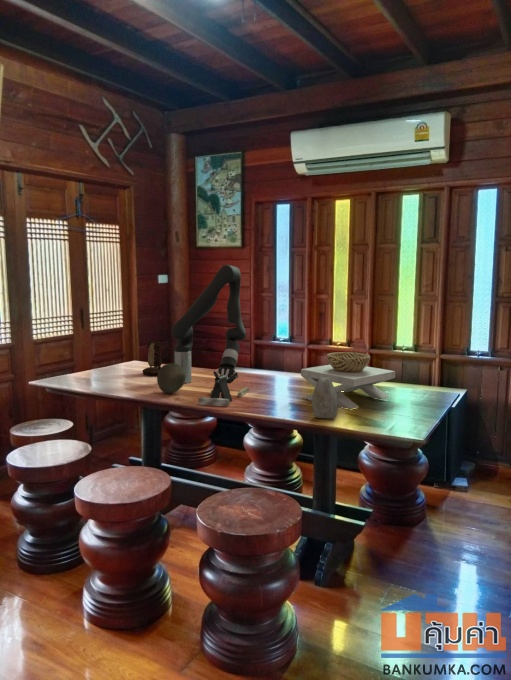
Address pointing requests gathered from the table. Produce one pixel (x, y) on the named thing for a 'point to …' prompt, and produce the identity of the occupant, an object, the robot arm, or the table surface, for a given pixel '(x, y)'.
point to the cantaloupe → (171, 378)
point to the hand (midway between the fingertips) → (221, 389)
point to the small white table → (349, 376)
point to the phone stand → (221, 388)
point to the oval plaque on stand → (153, 358)
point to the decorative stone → (324, 399)
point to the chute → (220, 401)
